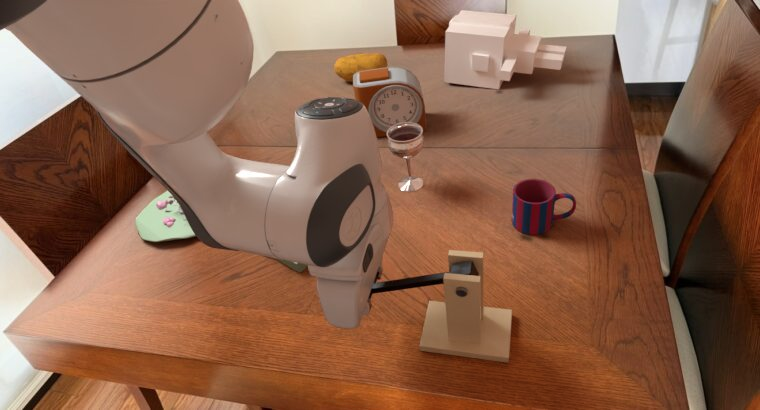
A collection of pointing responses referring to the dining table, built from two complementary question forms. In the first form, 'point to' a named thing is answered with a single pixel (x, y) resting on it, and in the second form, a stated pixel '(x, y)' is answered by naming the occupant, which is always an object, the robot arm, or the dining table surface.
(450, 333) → the bracket
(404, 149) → the wineglass
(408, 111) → the alarm clock
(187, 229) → the plant
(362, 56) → the potato
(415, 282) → the lever
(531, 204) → the mug
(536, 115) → the dining table surface
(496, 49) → the white voxel figure
